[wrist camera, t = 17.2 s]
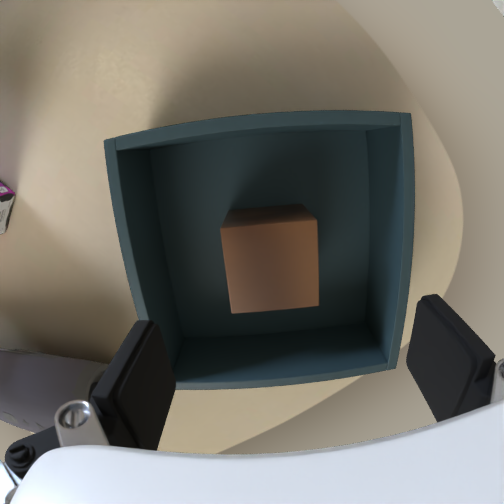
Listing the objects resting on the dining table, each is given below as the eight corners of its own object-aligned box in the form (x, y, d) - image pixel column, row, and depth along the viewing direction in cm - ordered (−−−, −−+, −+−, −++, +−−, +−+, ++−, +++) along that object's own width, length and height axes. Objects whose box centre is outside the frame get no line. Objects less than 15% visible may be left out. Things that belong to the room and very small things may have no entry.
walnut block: (302, 203, 22) (317, 219, 17) (306, 272, 24) (319, 306, 19) (228, 210, 22) (219, 228, 17) (236, 279, 24) (231, 314, 19)
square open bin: (370, 121, 21) (411, 113, 14) (369, 323, 26) (396, 368, 20) (142, 141, 22) (102, 139, 15) (179, 340, 27) (161, 389, 21)
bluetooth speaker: (12, 382, 31) (-21, 424, 22) (-15, 328, 28) (-57, 367, 19) (140, 402, 30) (114, 470, 21) (113, 335, 27) (69, 404, 18)
